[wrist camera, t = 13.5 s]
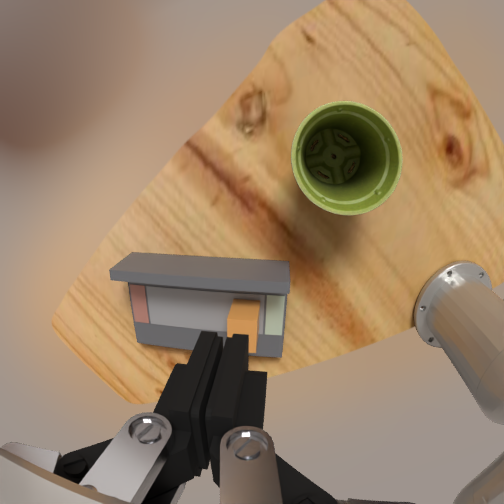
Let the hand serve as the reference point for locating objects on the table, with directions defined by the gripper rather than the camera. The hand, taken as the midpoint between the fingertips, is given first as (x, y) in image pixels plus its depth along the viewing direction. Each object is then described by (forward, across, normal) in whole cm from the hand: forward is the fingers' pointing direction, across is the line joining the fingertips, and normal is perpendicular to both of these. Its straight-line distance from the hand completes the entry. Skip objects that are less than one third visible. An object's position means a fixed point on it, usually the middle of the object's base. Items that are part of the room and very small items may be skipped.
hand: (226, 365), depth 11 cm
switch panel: (+25, +6, +11) cm, 28 cm away
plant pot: (+25, -7, -7) cm, 27 cm away
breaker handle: (+23, +1, +11) cm, 25 cm away
